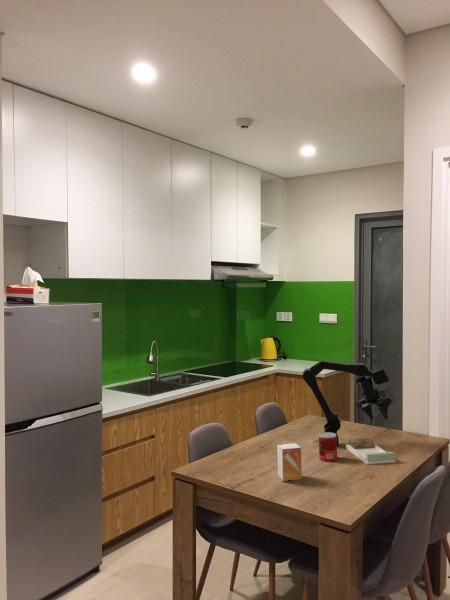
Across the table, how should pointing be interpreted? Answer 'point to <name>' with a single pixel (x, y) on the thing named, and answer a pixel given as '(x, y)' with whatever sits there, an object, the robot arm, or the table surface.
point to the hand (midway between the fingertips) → (379, 419)
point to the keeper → (361, 443)
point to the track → (366, 450)
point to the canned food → (327, 446)
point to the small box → (289, 462)
